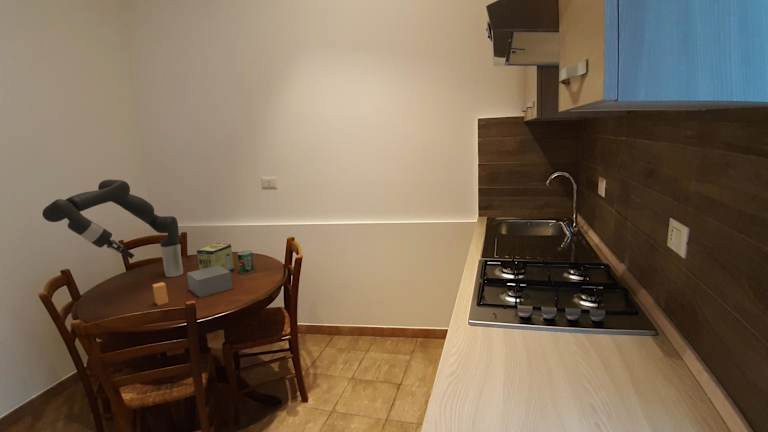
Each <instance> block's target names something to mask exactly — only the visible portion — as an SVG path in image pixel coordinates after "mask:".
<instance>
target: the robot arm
mask: <svg viewBox="0 0 768 432" xmlns="http://www.w3.org/2000/svg"><path fill="white" fill-rule="evenodd" d="M109 202H111V203H113V204H115V205H117V206H119V207H121V208H122V209H123V210H125V211H127V212H129V213H130V214H131V215H133V216H134V217H135V218H138V219H139V220H141V221H142V222H143V223H146V224H147V225H148V226H149V227H150V228H152V229H153V231H155V232H157V233H159V234H167V237H166V238H164V239H162V240H160V242H159V244H160V249H161V251H160V252H161V257H162V262H163V269H164V273H165V274H164V276H165V277H167V278H173V277H179V276H181V275H183V274H184V268H183V263H182V262H183V261H182V255H181V249H180V233H179V232H180V231H179V230H180V229H179V222H178V219H177V218H176V217H175V216H172V215H171V216H166V215H164V216H160V215H157V214H156V213H155V207H154V206H153V205H152V204H151V203H150V202H149V201H147V200H146V199H145V198H143V197H141V196H137V195H134V194H132V193H131V187H130V185H129V183H128V182H127V181H125V180H122V179H105V180H102V181H101V182H99V184H98V188H97V190H91V191H85V192H81V193H77V194H75V195H71V196H69V197H67V198H66V199H63V198H59V199H55V200H54V201H52V202H50V203H49V204H48V205H47V206H45V207H44V208H43V211H42V217H43V219H44V220H45V221H47V222H50V223H59V222H61V221H64V220H65V219H67V221H68V223H67V228H68V229H69V230H70V231H72V232H74V233H75V234H76V235H78V236H80V237H82V239H84V240H85V241H86V242H88V243H91V244H92V245H94V246H95V247H97V248H99V249H100V248H103V247H104V246H105V245H106V246H105V247H106V248H107V249H109V250H111V251H113V252H115V253H117V254H118V253H119V254H120V255H123V256H124V257H127V258H128V259H130V260H132V259H133V258H134V257H135V254H134V253H132V252H130V250H128V248H125V247H124V246H123V244H121V243H119V242H118V241H117V240H115V239H112V237H113V233H112V232H111V231H109V230H107V229H106V228H105V227H103V226H101V225H99V224H97V223H96V222H94V221H93V220H91V219H89V218H88V217H86V216H84V215H83V214H82V213H81V212H83V211H86V210H89V209H91V208H94V207H96V206H99V205H100V206H101V205H104V204H106V203H109Z"/></svg>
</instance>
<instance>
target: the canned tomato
mask: <svg viewBox="0 0 768 432" xmlns="http://www.w3.org/2000/svg"><path fill="white" fill-rule="evenodd" d="M237 260H238V270H239V273H240V274H243V275H244V274H251V273H254V272H255V267H254V266H255V265H254V257H253V251H252V250H242V251H241V250H240V251H238V252H237Z"/></svg>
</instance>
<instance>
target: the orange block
mask: <svg viewBox="0 0 768 432" xmlns="http://www.w3.org/2000/svg"><path fill="white" fill-rule="evenodd" d="M152 292H153V297H154V302H155V304H156V305H157V306H160V305H162V306H163V305H166V304H168V303H169V296H168V290H167V285H166V283H165V282H163V281H162V282H158V283H154V284H152Z"/></svg>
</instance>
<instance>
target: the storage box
mask: <svg viewBox="0 0 768 432" xmlns="http://www.w3.org/2000/svg"><path fill="white" fill-rule="evenodd" d="M186 276H187V283H188V290H189V291H191V293H193V294H195V295H196V296H197V297H199V298H204V297H207V296H211V295H213V294H219V293H221V292H226V291H229V290H231V289H233V281H232V272H230V271H228V270H226V269H225V268H223V267H221V266H219V265H217V266H213V267H209V268H205V269H201V270H199V269H197V270H192V271H189V272H186Z"/></svg>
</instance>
